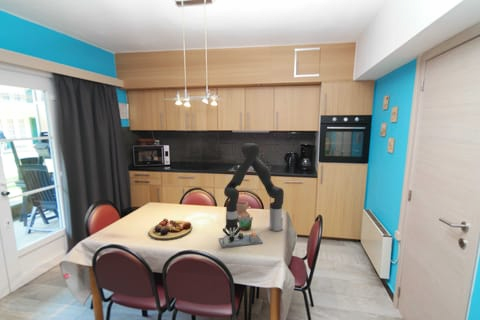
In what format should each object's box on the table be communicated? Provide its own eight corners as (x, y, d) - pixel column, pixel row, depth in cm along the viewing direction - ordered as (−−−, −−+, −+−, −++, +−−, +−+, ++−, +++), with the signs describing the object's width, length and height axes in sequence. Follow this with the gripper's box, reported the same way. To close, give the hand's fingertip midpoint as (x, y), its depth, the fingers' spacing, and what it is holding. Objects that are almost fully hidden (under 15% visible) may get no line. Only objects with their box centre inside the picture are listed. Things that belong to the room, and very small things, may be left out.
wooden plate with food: (199, 225, 190) (199, 215, 189) (178, 243, 160) (178, 231, 159) (165, 221, 199) (164, 212, 198) (139, 238, 169) (138, 227, 168)
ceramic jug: (252, 216, 207) (252, 200, 205) (249, 222, 193) (248, 206, 191) (232, 215, 211) (232, 199, 209) (228, 221, 197) (227, 204, 195)
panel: (257, 235, 171) (257, 229, 171) (262, 243, 159) (262, 237, 158) (219, 239, 165) (218, 233, 165) (221, 248, 153) (221, 241, 152)
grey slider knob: (227, 241, 159) (227, 234, 158) (228, 244, 156) (228, 237, 155) (223, 241, 159) (223, 235, 158) (224, 244, 155) (224, 237, 154)
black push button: (242, 236, 167) (242, 232, 167) (243, 238, 164) (243, 235, 163) (237, 236, 166) (237, 233, 166) (238, 238, 163) (238, 235, 162)
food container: (235, 229, 181) (234, 216, 180) (238, 226, 187) (238, 214, 185) (249, 232, 176) (249, 219, 175) (252, 228, 182) (252, 216, 180)
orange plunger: (255, 237, 163) (255, 231, 163) (257, 240, 160) (257, 233, 159) (250, 238, 163) (250, 231, 162) (252, 240, 159) (252, 234, 159)
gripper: (222, 219, 150) (222, 245, 153) (242, 218, 153) (242, 242, 156) (220, 215, 158) (221, 239, 160) (240, 213, 160) (240, 237, 163)
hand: (231, 241), depth 158 cm, fingers closed
